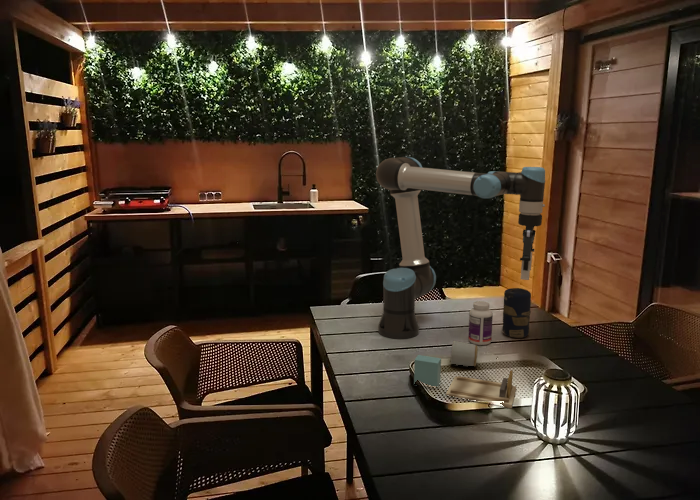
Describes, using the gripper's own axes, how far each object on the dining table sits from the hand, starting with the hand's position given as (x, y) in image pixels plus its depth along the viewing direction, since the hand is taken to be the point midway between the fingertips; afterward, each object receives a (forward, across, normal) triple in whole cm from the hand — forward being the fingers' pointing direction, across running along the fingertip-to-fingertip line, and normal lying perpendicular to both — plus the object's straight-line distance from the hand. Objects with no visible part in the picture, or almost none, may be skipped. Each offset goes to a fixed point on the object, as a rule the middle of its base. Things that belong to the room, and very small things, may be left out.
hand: (525, 274), depth 190 cm
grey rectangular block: (+26, -24, +16) cm, 39 cm away
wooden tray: (+25, -43, +8) cm, 51 cm away
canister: (+26, +9, +2) cm, 27 cm away
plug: (+26, -42, +24) cm, 55 cm away
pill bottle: (+26, -3, +14) cm, 29 cm away
